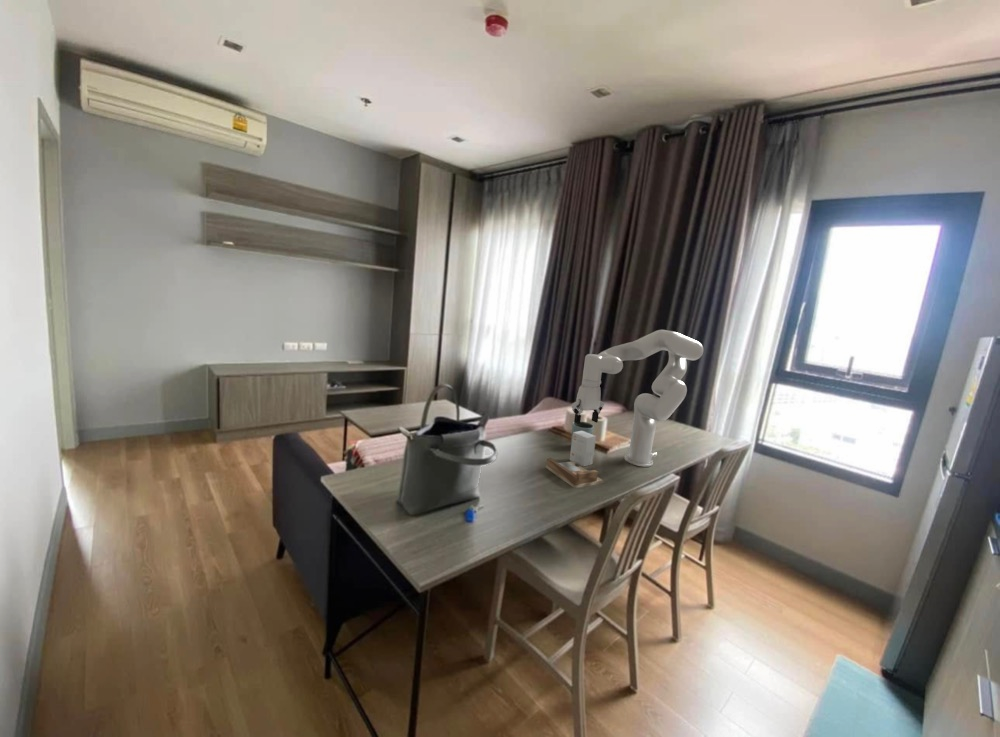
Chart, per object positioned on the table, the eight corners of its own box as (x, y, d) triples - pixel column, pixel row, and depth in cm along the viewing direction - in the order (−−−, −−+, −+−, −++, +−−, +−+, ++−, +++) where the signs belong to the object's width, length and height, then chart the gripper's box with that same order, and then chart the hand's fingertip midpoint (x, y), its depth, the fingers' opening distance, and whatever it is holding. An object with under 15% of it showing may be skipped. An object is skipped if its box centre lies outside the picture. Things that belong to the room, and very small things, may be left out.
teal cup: (578, 443, 205) (581, 420, 203) (594, 450, 197) (598, 426, 195) (564, 446, 198) (568, 422, 196) (581, 453, 191) (584, 429, 189)
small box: (592, 464, 180) (596, 435, 177) (583, 467, 176) (587, 438, 173) (578, 457, 186) (582, 430, 183) (568, 460, 182) (572, 432, 179)
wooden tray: (572, 463, 178) (574, 452, 177) (602, 483, 161) (604, 470, 161) (545, 467, 171) (547, 455, 170) (574, 488, 155) (576, 475, 154)
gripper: (600, 381, 181) (595, 418, 184) (569, 382, 173) (564, 421, 176) (612, 385, 175) (607, 423, 178) (580, 386, 166) (575, 426, 169)
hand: (585, 422), depth 177 cm, fingers open, 9 cm apart
